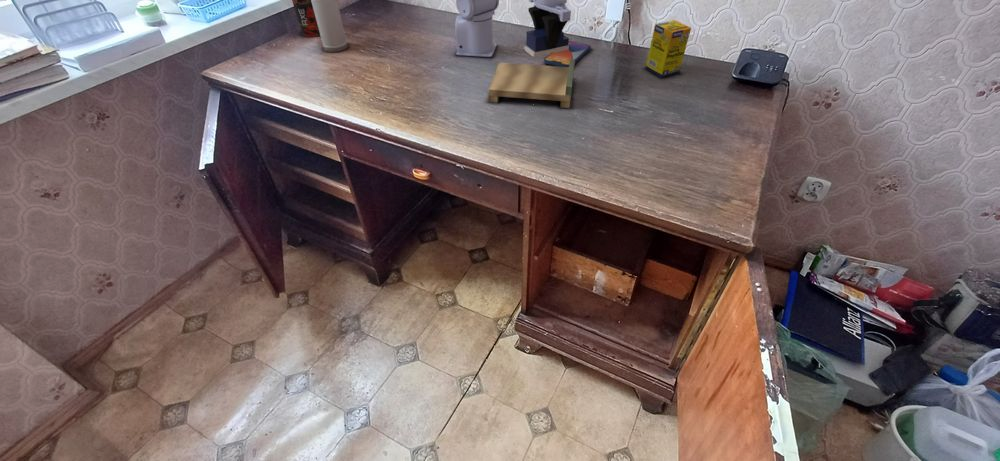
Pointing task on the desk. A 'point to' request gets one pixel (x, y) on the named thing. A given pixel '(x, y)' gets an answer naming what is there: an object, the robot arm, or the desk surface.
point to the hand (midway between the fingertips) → (546, 44)
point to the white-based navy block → (543, 43)
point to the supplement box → (667, 48)
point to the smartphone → (567, 54)
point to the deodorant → (306, 18)
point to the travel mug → (330, 25)
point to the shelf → (533, 82)
